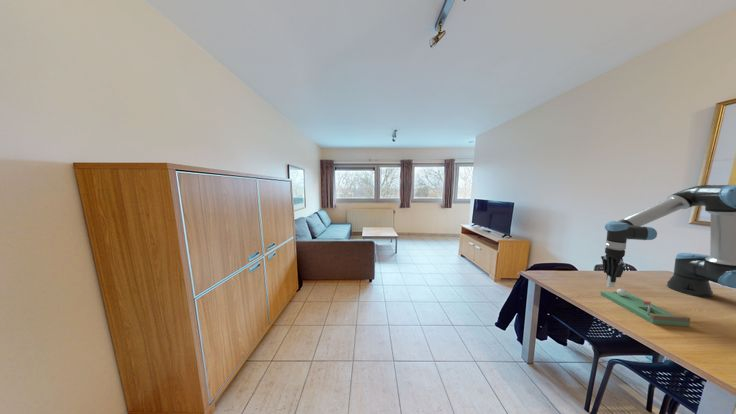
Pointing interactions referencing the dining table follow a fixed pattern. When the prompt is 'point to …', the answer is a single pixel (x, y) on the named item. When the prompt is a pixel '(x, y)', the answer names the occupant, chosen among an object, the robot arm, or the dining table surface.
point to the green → (646, 309)
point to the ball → (622, 292)
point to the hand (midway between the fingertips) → (610, 286)
